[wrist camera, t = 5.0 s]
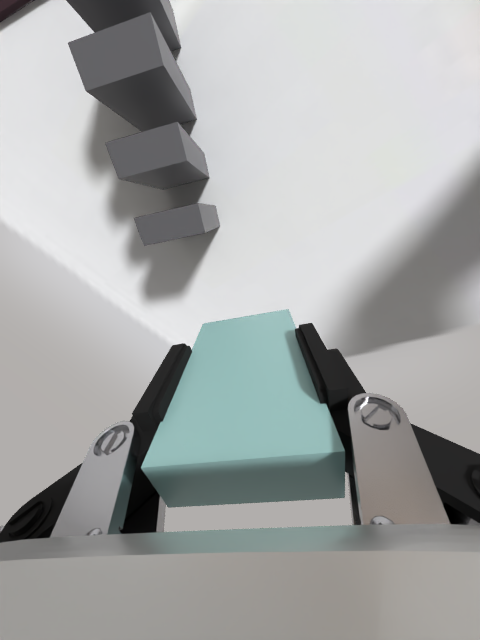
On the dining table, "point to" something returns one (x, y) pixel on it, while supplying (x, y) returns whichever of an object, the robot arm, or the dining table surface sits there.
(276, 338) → the domino teal
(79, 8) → the domino
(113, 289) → the dining table surface
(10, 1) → the chocolate bar
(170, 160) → the domino
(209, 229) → the domino
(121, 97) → the domino
